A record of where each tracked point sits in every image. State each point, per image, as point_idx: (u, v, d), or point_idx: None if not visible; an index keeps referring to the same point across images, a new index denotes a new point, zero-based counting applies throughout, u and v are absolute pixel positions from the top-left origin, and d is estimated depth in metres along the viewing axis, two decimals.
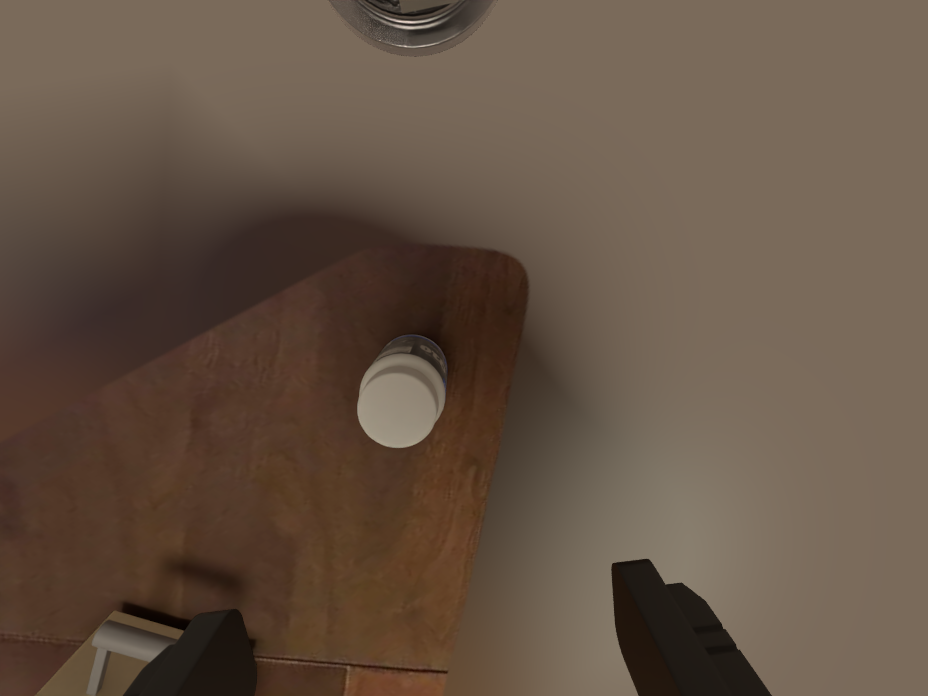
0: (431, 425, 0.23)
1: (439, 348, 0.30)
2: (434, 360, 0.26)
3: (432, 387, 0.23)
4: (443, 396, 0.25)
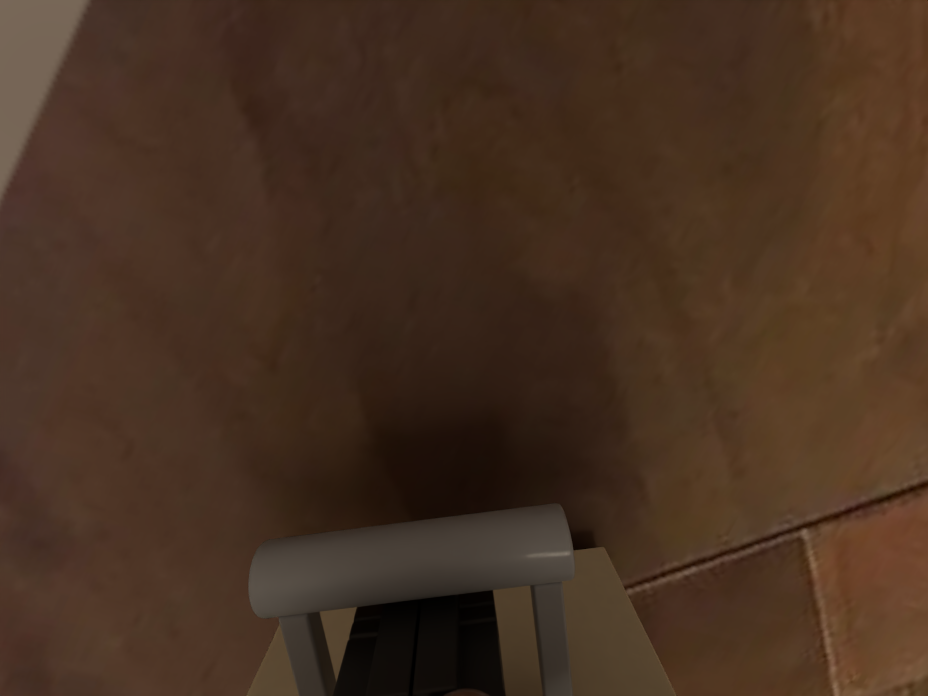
0: None
1: None
2: None
3: None
4: None
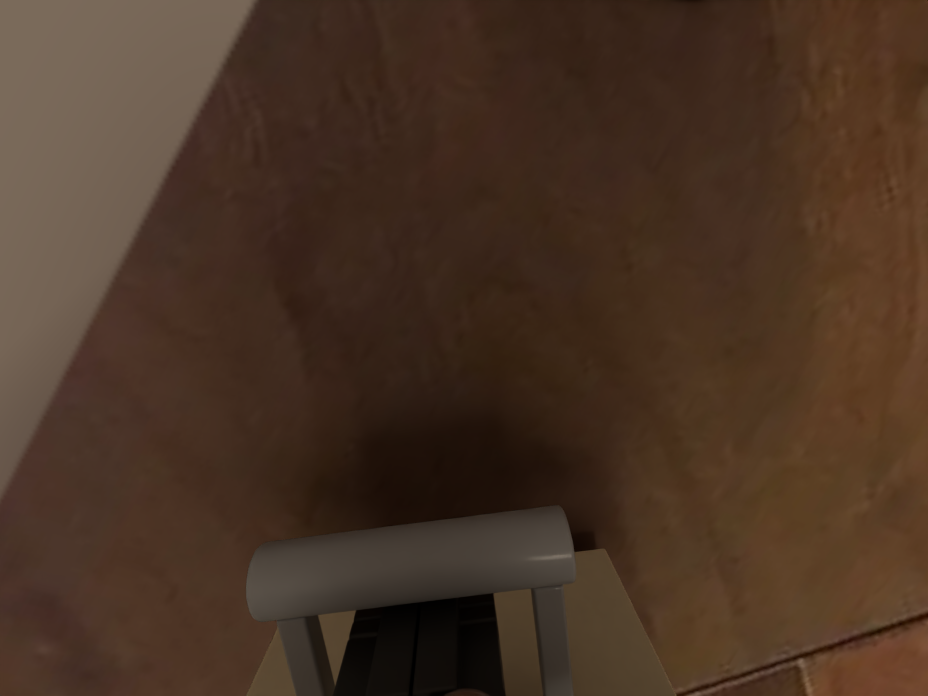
0: None
1: None
2: None
3: None
4: None
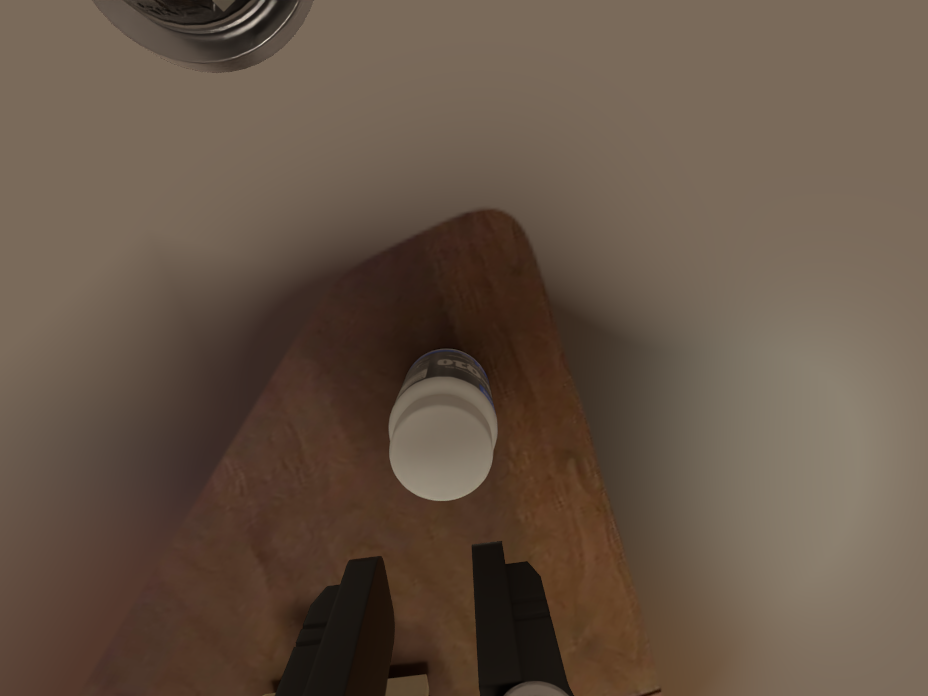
0: (490, 450, 0.17)
1: (463, 352, 0.24)
2: (459, 370, 0.21)
3: (468, 405, 0.18)
4: (489, 407, 0.19)
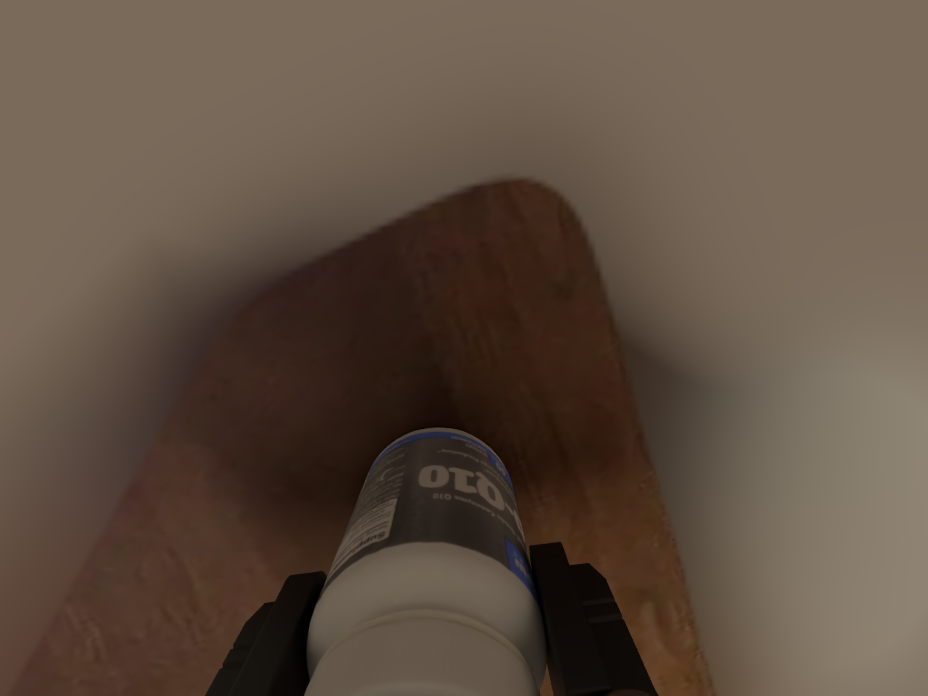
0: None
1: (468, 436, 0.14)
2: (463, 506, 0.10)
3: (487, 652, 0.07)
4: (531, 612, 0.08)
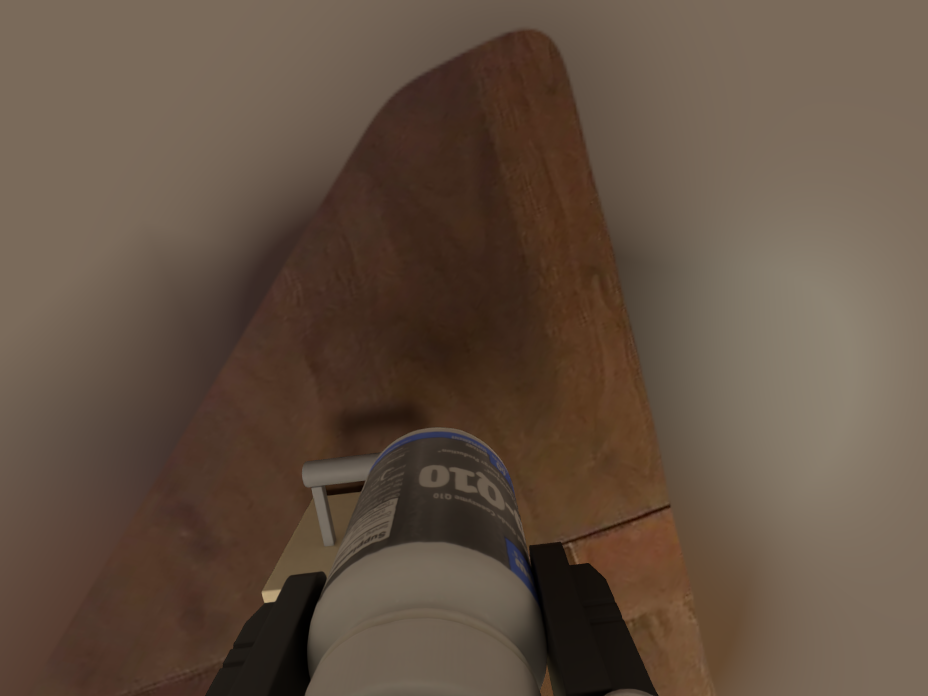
0: None
1: (468, 436, 0.14)
2: (463, 506, 0.10)
3: (488, 652, 0.07)
4: (531, 612, 0.08)
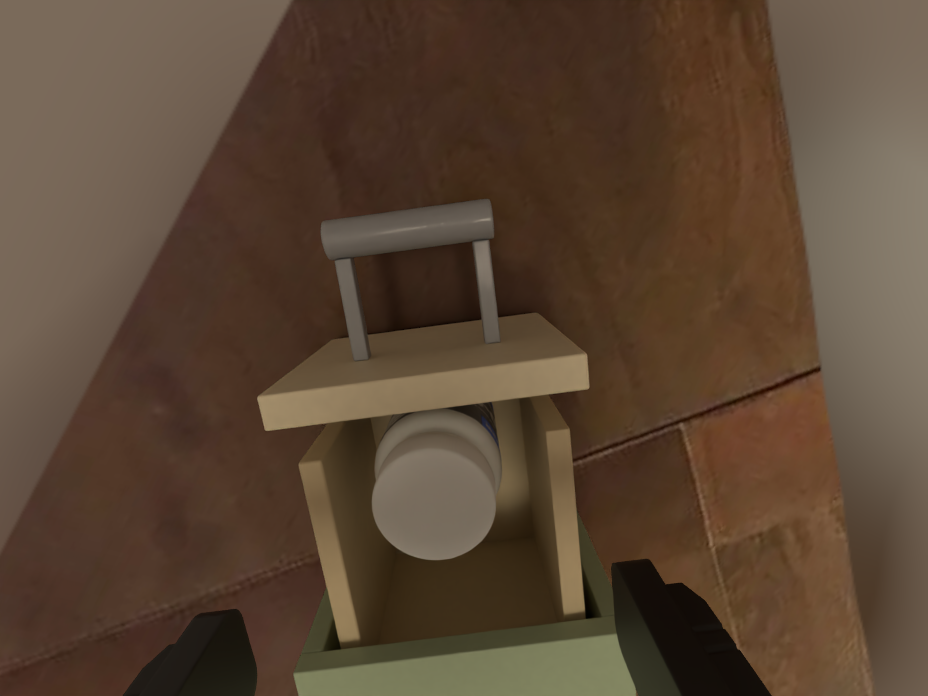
0: (492, 502, 0.14)
1: None
2: None
3: (466, 446, 0.15)
4: (492, 445, 0.16)
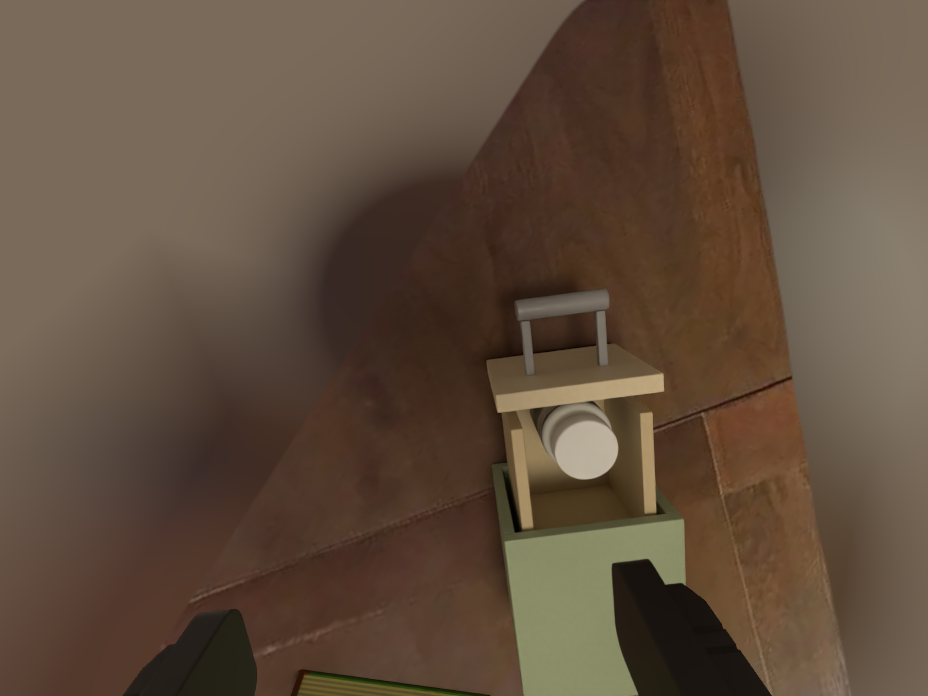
0: (616, 448, 0.28)
1: None
2: None
3: (601, 420, 0.29)
4: (608, 420, 0.30)
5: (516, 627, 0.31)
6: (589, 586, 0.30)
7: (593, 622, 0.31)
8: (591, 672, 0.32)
